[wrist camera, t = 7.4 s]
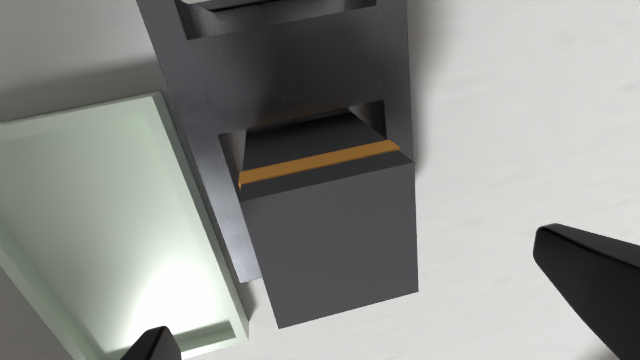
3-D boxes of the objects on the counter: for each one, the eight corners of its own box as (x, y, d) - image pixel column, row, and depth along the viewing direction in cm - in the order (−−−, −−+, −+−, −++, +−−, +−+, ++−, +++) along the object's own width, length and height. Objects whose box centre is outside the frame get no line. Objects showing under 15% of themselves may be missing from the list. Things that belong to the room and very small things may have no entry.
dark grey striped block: (352, 110, 14) (416, 160, 8) (363, 203, 16) (419, 292, 10) (244, 132, 13) (236, 201, 8) (270, 225, 15) (277, 330, 10)
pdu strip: (394, 210, 17) (416, 238, 14) (242, 248, 16) (240, 283, 14) (361, -235, 10) (392, -315, 7) (87, -204, 9) (31, -284, 7)
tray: (248, 323, 18) (248, 341, 17) (102, 362, 17) (92, 384, 16) (160, 90, 12) (151, 96, 11) (-63, 134, 12) (-95, 145, 11)
